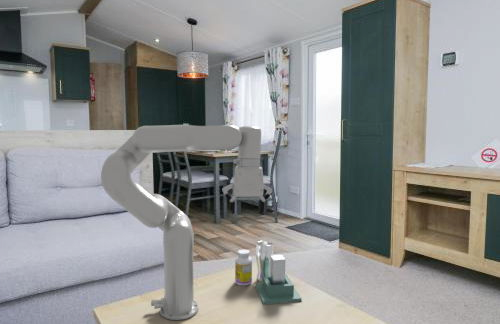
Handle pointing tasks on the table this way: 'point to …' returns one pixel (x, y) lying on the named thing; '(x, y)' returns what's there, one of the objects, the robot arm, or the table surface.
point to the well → (277, 291)
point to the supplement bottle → (243, 268)
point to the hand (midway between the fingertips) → (246, 212)
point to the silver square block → (277, 269)
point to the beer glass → (263, 258)
